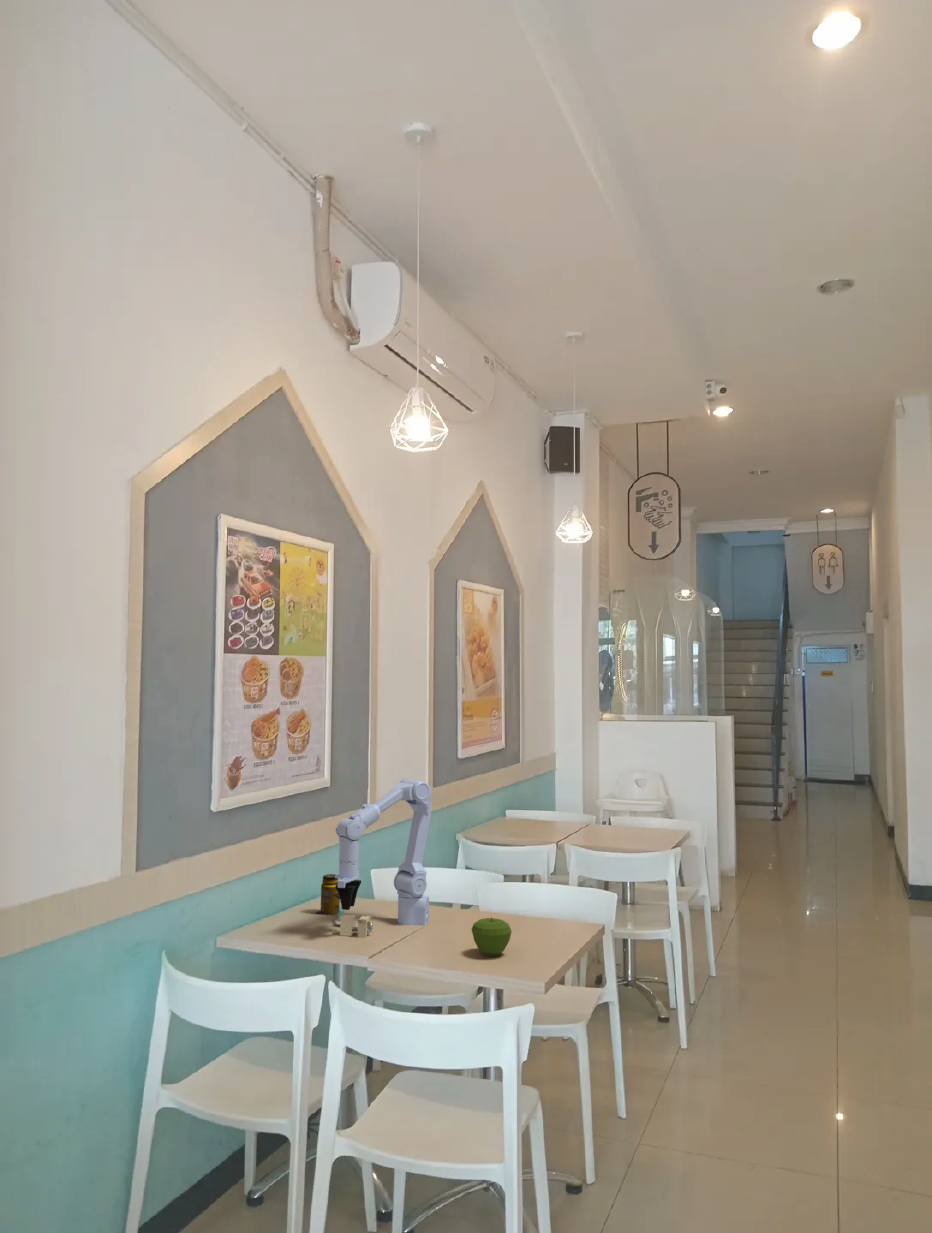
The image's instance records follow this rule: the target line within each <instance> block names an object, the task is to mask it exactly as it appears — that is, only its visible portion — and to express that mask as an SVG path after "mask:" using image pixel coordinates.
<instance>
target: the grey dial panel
mask: <svg viewBox="0 0 932 1233" xmlns="http://www.w3.org/2000/svg"><path fill="white" fill-rule="evenodd" d="M371 916H372V915H362V916H360V918H358V919H357V927H358V932H357V938H362V939H363V938H367V937H368V936H367V935H370V934H371V932H367V928H369V923H372V922H371V921H372V920H371V918H372V917H371ZM338 926H339V927H340V925H338Z"/></svg>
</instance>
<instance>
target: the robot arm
mask: <svg viewBox="0 0 932 1233" xmlns="http://www.w3.org/2000/svg"><path fill="white" fill-rule="evenodd" d="M432 792H433V789H432V788H431V786H430V785H429V784H428V782H427V781H425V780H417V779H409V778H406V777H405V778H403V779H401V780H400V781H398V782H396V783H395V784H394V786H393V787H392V788H391V789H390V790H389V791H388V792H386V793H385V794H384V795H382V797H380V799H378V800H377V801H376V802H374V803H367V804H366V803H364V804H362V805H361V808H360V809H358V810H357V811H356V812H354V813H351V814H350V815H349V817H348V818H347V817H346V818H342V819H341V820H339V822H338V824H337V827H336V828H335V833H336V835H337V836H338V842H339V847H338V851H339V852H338V853H339V854H338V862H339V863H338V874H336V875H335V878H338V884H337V885H336V890H337V892H338V894H339V897H340V907H342V910H344V911H350V909H351V907H355V904H356V899H357V894H358V891H359V888H360V886H361V884H362V880H361V879H360V870H359V867H360V866H359V865H360V858H359V857H360V839H361V838H362V836H363V834H364V832H365V831H366V829H368V828H369V827H370V826H372V825H373V824H374V823H376V822H377V821H378V820H379V819H380V817H381V813H384V812H385V811H386V810H387V809H389V808H391V807H392V806H394V805H395V804H397V803H398V802H400V801H405V802H406V803H407V804H408V805H409V806H410V807H411V809H412V810H413V815H412V819H411V825H410V830H409V836H408V841H407V846H406V851H405V852H406V853H405V857H404V861H403V862H402V863H401V864H400V865H399V866H398V868H397V869H398V870H397V873H396V874H395V876H394V878H393V887H394V888H395V890H396V891H397V896H398V897H397V898H398V899H397V923H398V924H399V925H401V926H402V925H404V926H426V925H427V924H428V923H429V921H430V897H429V896H427V895H424V894H425V892H426V890H427V886H428V885H427V871H426V869H425V868H424V866H423V861H424V856H425V855H424V854H425V850H426V844H427V838H428V834H429V828H430V822H431V821H430V820H431V816H432V812H433V804H432V803H433V802H432V794H433V793H432Z"/></svg>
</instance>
